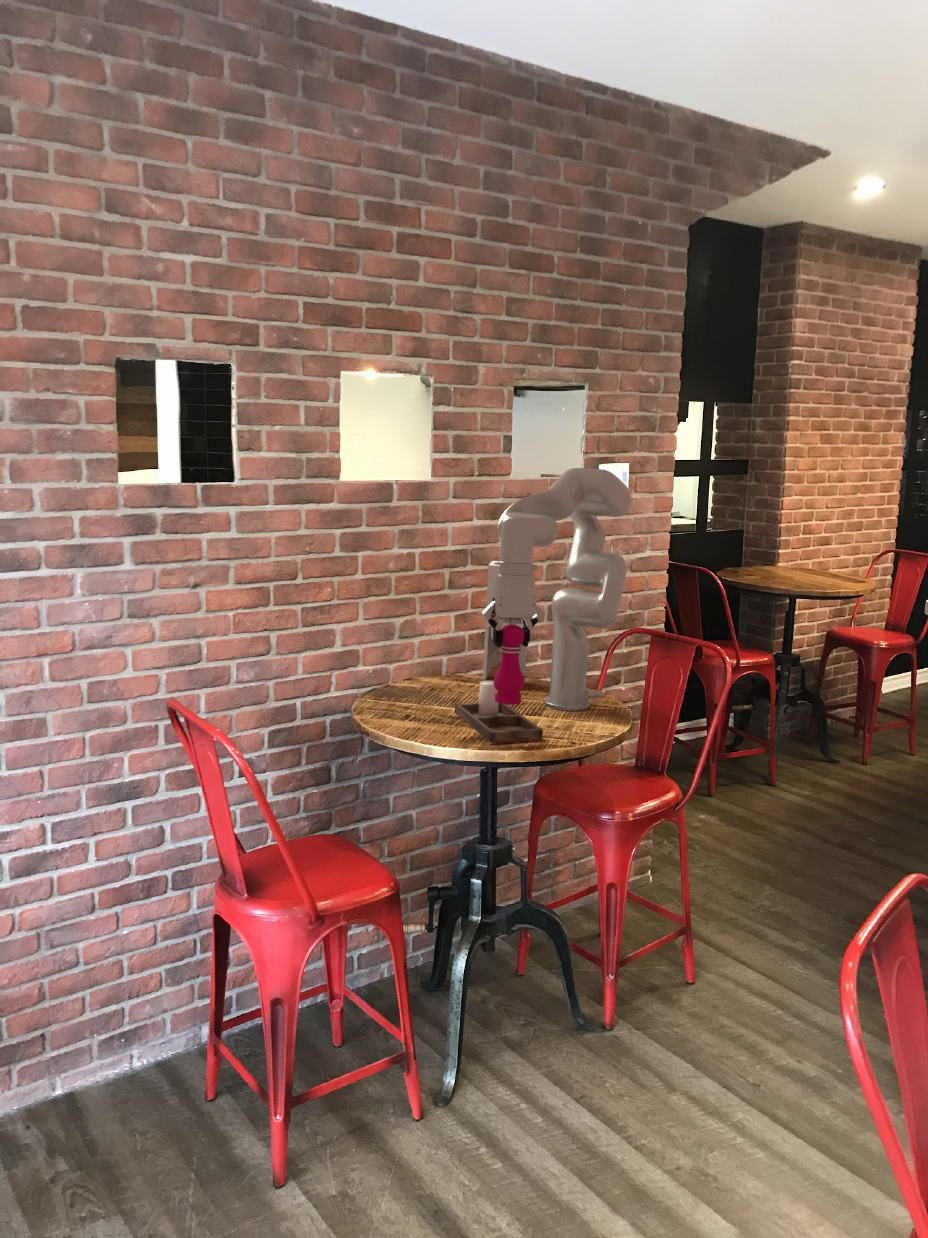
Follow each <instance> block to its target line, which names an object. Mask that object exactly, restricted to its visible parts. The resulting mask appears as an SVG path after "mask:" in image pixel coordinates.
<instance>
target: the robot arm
mask: <svg viewBox="0 0 928 1238" xmlns="http://www.w3.org/2000/svg"><path fill="white" fill-rule="evenodd" d="M631 505H632V496H631V492H630V490H629V487H628V486H627V485H626V484H625V483H624V482H623V481H622V480H621V479H620V478H619V477H618V476H617V475H615V474H614V473H613V472H611V471H609V470H606V469H599V468H598V469H597V468H586V467H585V468H583V467H573V468H570V469H568V470H565V471H564V472H563V473H562V474H561V475H560V476H559V477H558V479H556V481H554V482H553V483H552V484H551V486H549V487H548V489H546V490H544V491H543V490H542V491H539V492H537V493H534V494H531V495H528V496H525V497H522V498H520V499H518V500H516V501H515V502H513V503H512V504H511V505H509V506H508V507H507V509H505V510H504V512H503V513H502V514H501V516H500V517H499V520H498V523H497V528H496V529H497V535H498V537H499V539H500V541H501V542H500V553H499V554H500V555H499V556H500V557H499V561H500V568H499V574H496V575H495V579H494V583H493V587H492V593H491V600H490V605H489V606H488V607H487V608H486V607H485V609H484V610H483V611H482V612H481V614H480V616H481V617H482V618H483V619H484V620H486V621H487V622H488V623H489V624H490V625H491V626H492V628H493V643H494V645H495V646H497V647H502V635H503V631H502V630H501V627H502V624H503V622H504V620H505V619H521V620H522V623H523V628H522V629H523V631H524V636H525V637H524V641H523V642H522V643H521V645H523V646H525V647H527V648H528V647H529V643H530V642H531V641H530V640H531V631H532V630H533V629H534V628H533V627H535V625H537V623H538V622H539V621H540V620H541V619H542V618H543V617H544V616H545V612H544V611H543V610H542V609H541V608H540V606H539V605H538V604H537V590H536V583H535V577H534V575H533V573H534V571H537V570H538V565H537V564H534V562H533V558H534V547H537V548H538V547H539V548H544V547H548V546H551V545H552V544H553V543H554V542H555V541H556V539H557V537H558V534H559V527H558V524H557V521H562V520H565V519H567V518H570V516H571V519H572V520H571V521H572V523H573V535H572V536H573V537H572V542H571V544H570V545H571V546H570V549H569V555H568V558H567V562H566V568H565V577H566V579H567V581H568V582H569V583H571V584H572V585H578V586H583V587H584V586H585V587H592V588H600V589H601V591H596V590H590V589H584V588H583V589H582V588H575V587H565V588H561V589H559V590H557V591H556V592H555V593H554V594H553V596H552V598H551V615H552V627H553V630H552V633H553V634H552V646H551V647H552V649H551V650H552V651H551V663H550V678H549V679H550V680H549V692H548V693H549V694H548V695H546V696H545V697H543V699H542V703H543V705H545V706H546V707H548V708H551V709H555V710H561V711H582V710H587V709H589V708H590V706H591V701H590V700H591V699H592V698H593V699H601V697H602V696H603V695H602V691H601V690H593V689H588V688H586V687H587V686H586V684H587V670H588V660H589V659H588V658H589V657H588V656H589V646H590V645H589V643H590V642H589V638H588V635H587V632H586V631H585V629H584V627H588V628H595V629H602V630H603V629H604V630H606V629H610V628H611V627H612V626H614V624H615V622H616V620H617V617H618V613H619V609H620V604H621V600H622V596H623V591H624V587H625V583H626V578H627V563H626V560H625V558H624V557H623V556H622V555H620V554H619V553H615V552H608V551H604V547H605V542H606V538H607V537H606V536H607V535H606V531H605V530H604V527H603V524H602V523H601V522H600V519H598V517H599V516H601V517H612V518H613V517H614V518H619V517H620V518H621V517H622V516H623V517H624V516H625V515H627V513H628V512H629V510H630V508H631ZM597 516H598V517H597ZM490 614H492V615H494V616H495V619H492V618H491V616H490Z"/></svg>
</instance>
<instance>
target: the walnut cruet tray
mask: <svg viewBox="0 0 928 1238" xmlns="http://www.w3.org/2000/svg"><path fill="white" fill-rule="evenodd" d="M478 707H479V702H470V703H455V704H454V713H455V714H456V715H457V717H459V718H460V719H462V721H464V722H465V723H466V724H467V725H469V726H470V727H472V728H473V730H475V731H476V732H478V733H479V734H480V735H481V736H482V737H484V738H485V739H486V740H487V741H489V742H490V743H491V744H489V745H490V746H503V745H514V744H513V743H514V741H516V742H518V741H521V742H519V743H520V744H530V743H529V742H530V741H534V740H537V741H535V743H539V742H538V740H543V736H544V735H543V732H544V729H543V728H541V727H540V726H538V725H536V723H534V722H533V721H532V720H530V719H528V718H527V717H525V716H524V715H522V714H521V713H520V712H518V711H516V710H515V709H513V708H512V707H511V706H510V705H506V704H500V703H499V709H498V716H484V717H478ZM523 741H525V742H523ZM500 742H505V743H500ZM507 742H508V743H507ZM501 744H503V745H501Z"/></svg>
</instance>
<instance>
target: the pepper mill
mask: <svg viewBox="0 0 928 1238" xmlns="http://www.w3.org/2000/svg"><path fill="white" fill-rule="evenodd" d="M509 624H510V625H506V626H504V627H502V628H501V630H502V631H503V635H502V647H501V649H500V651H502V659H501V664H500V667H499V669H498V671H497V673H496V675H495V678H494V683H493V684H494V687H495V689H496V690H497V692H496V693H495V702H497V703H500V704H506V705H508V706H513V705H519V704H521V703H522V694H521V693H520V692H522V691H523V689H524V688H525V683H524V678H523V675H522V672H521V669H520V665H519V654H520V652H521V648H522V646H520V644H521V643H522V642H523V641H524V637H525V636H524V631H523V629H522V628H521V627H519V626H517V625H515V624H516V620H515V619H510V620H509ZM521 690H522V691H521Z"/></svg>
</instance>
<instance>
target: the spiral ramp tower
mask: <svg viewBox="0 0 928 1238" xmlns="http://www.w3.org/2000/svg"><path fill="white" fill-rule="evenodd" d="M487 567H488V568H487V580H486V581H487V582H486V584H487V585H486V603H485V609H486V608H487V607H488V606H489V605H490V600H491V593H492V587H493V583H494V579H495V575H496V574H499V568H500V560H492V561H491V562H490V563H489V564H488V565H487ZM490 616H491V618H492V619H495V616H494V615H492V614H490ZM484 620H485V619H484ZM509 620H510V619H505V620H504V622H503V624H502V627H504V626H506V625H510V624H509ZM515 620H516V624H515V625H517V626H519V627H521V628H523V623H522V620H521V619H515ZM484 624H485V625H484V626H485V631H484V645H483V646H484V648H483V650H484V651H483V664H482V665H483V668H482V681H494V678H495V675H496V673H497V671H498V669H499V667H500V664H501V659H502V651H500V649H501V647H497V646H495V645H494V643H493V628H492V626H491V625H490V624H489V623H488V622H487V621H486V620H485V621H484ZM502 627H501V628H502ZM520 646H522V648H521V652H520V654H519V665H520V669H521V672H522V675H523V678H524V684H525V683H526V668H527V667H526V666H527V653H528V652H527V651H528V647H525V646H523V645H521V644H520ZM520 692H523V689H522V690H521V691H520Z"/></svg>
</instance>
